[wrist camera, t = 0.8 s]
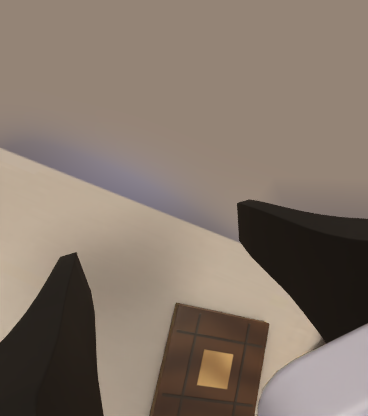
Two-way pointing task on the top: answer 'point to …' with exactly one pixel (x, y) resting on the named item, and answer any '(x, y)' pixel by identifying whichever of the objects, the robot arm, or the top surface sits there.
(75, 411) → the robot arm
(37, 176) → the top surface
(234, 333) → the board
